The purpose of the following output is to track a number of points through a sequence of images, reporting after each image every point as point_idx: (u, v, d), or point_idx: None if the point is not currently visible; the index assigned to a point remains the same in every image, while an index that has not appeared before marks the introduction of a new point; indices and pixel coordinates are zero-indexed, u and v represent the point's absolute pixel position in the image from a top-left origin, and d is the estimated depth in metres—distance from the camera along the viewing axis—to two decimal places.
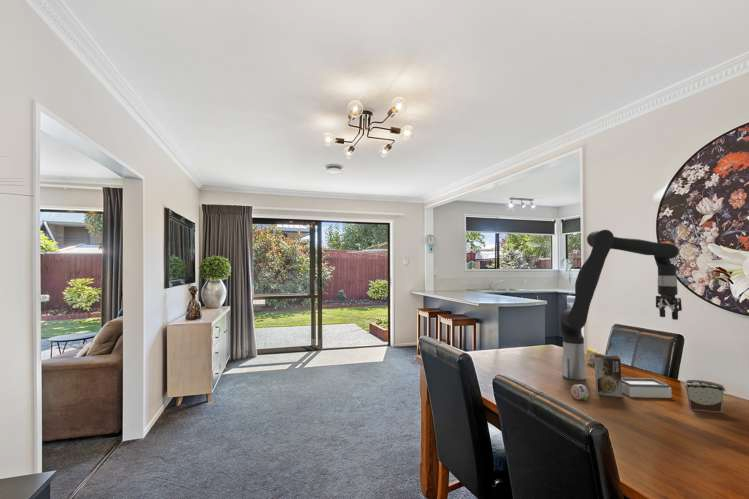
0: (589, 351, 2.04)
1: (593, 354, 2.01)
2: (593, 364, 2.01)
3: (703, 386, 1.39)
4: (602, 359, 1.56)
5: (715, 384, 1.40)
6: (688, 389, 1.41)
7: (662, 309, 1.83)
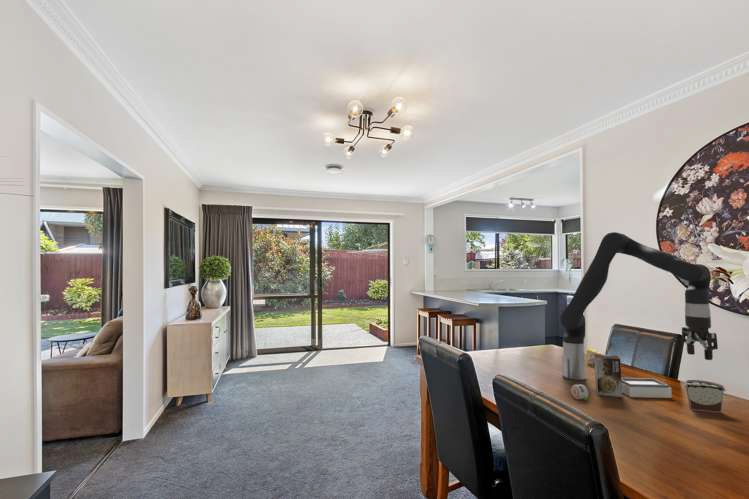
0: (589, 351, 2.04)
1: (593, 354, 2.01)
2: (593, 364, 2.01)
3: (703, 386, 1.39)
4: (602, 359, 1.56)
5: (715, 384, 1.40)
6: (688, 389, 1.41)
7: (690, 344, 1.46)
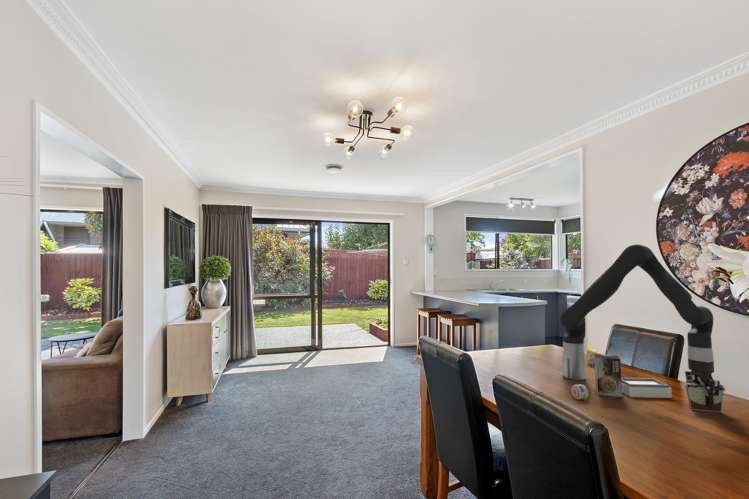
0: (589, 351, 2.04)
1: (593, 354, 2.01)
2: (593, 364, 2.01)
3: None
4: (602, 359, 1.56)
5: None
6: (688, 389, 1.41)
7: None
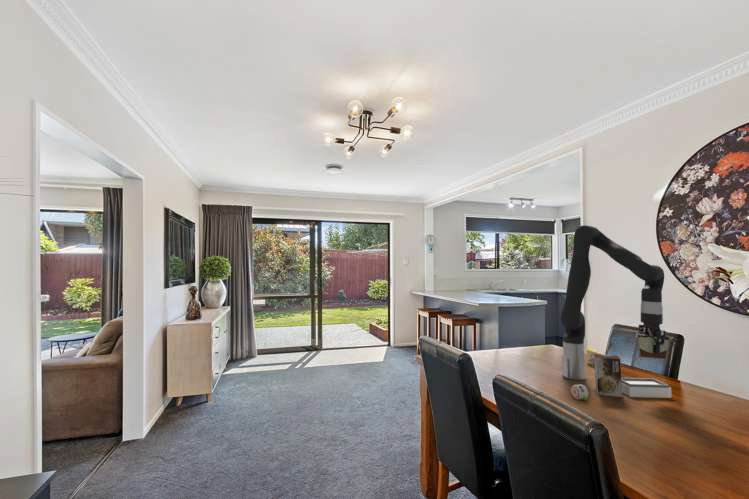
0: (589, 351, 2.04)
1: (593, 354, 2.01)
2: (593, 364, 2.01)
3: None
4: (602, 359, 1.56)
5: None
6: (638, 339, 1.55)
7: None
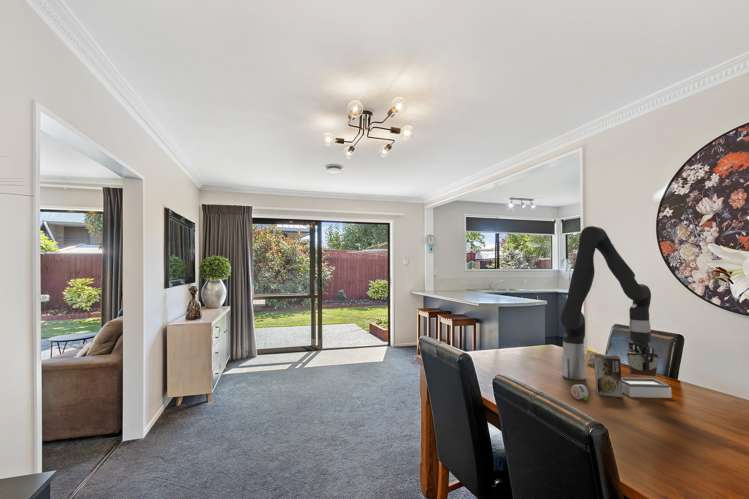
0: (589, 351, 2.04)
1: (593, 354, 2.01)
2: (593, 364, 2.01)
3: None
4: (602, 359, 1.56)
5: None
6: (628, 357, 1.59)
7: None
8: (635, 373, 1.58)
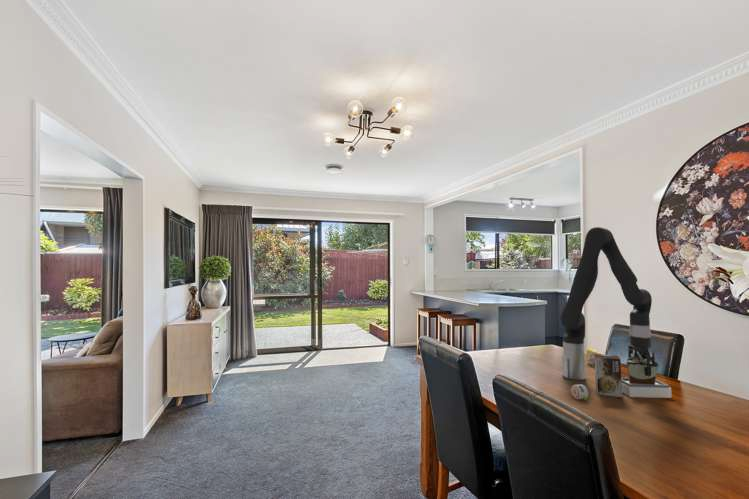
0: (589, 351, 2.04)
1: (593, 354, 2.01)
2: (593, 364, 2.01)
3: (641, 363, 1.57)
4: (602, 359, 1.56)
5: (651, 361, 1.58)
6: (628, 366, 1.58)
7: None
8: (634, 382, 1.58)
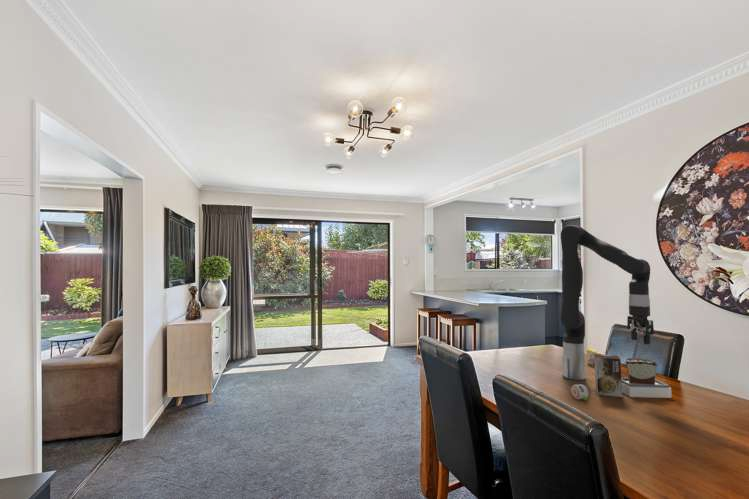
0: (589, 351, 2.04)
1: (593, 354, 2.01)
2: (593, 364, 2.01)
3: (640, 362, 1.58)
4: (602, 359, 1.56)
5: (650, 360, 1.60)
6: (627, 365, 1.59)
7: (634, 331, 1.64)
8: (634, 382, 1.58)
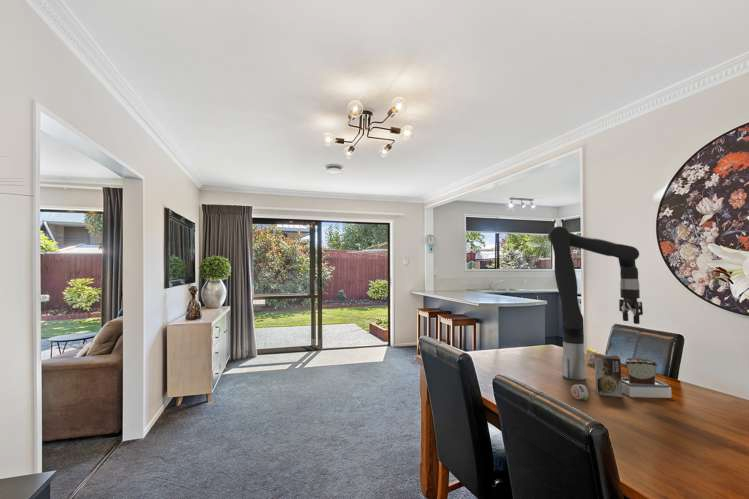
0: (589, 351, 2.04)
1: (593, 354, 2.01)
2: (593, 364, 2.01)
3: (640, 362, 1.58)
4: (602, 359, 1.56)
5: (650, 360, 1.60)
6: (627, 365, 1.59)
7: (625, 313, 1.78)
8: (634, 382, 1.58)
